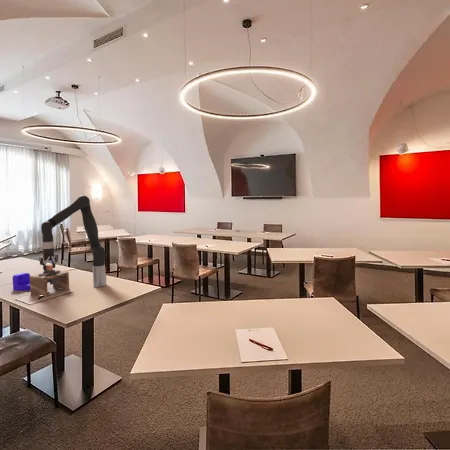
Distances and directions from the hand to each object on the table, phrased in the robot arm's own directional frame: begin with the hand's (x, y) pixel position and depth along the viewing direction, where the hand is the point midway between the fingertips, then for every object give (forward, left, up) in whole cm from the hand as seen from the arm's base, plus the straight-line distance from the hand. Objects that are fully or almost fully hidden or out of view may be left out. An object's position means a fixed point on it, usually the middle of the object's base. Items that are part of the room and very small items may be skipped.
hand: (49, 269), depth 223 cm
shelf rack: (0, 0, -18) cm, 18 cm away
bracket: (+2, -23, -18) cm, 29 cm away
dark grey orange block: (0, 0, -11) cm, 11 cm away
